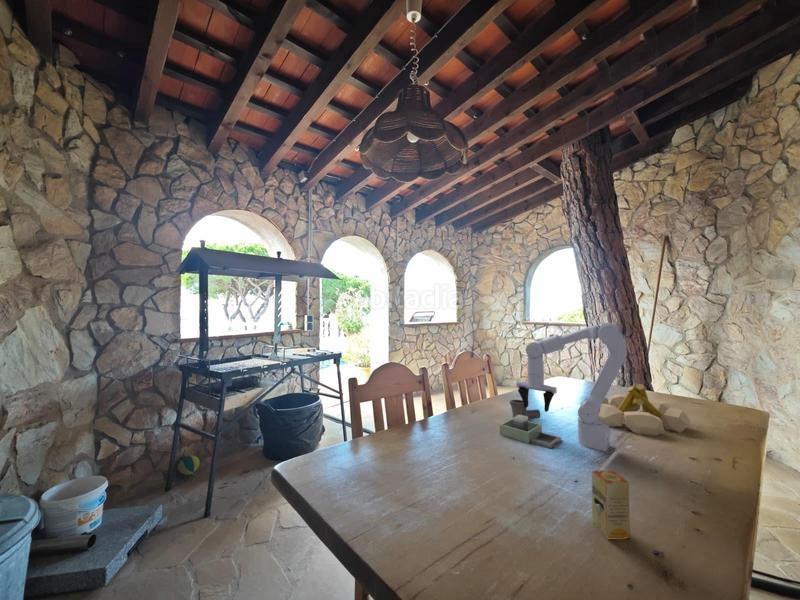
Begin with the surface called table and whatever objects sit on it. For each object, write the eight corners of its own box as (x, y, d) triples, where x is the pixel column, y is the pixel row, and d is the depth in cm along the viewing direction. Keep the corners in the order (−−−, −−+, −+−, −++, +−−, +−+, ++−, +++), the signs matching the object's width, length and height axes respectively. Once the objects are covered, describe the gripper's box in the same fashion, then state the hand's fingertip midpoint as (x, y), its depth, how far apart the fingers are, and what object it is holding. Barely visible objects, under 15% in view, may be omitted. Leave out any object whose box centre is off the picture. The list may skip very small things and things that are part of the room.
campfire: (640, 441, 120) (639, 394, 121) (569, 413, 153) (569, 376, 153) (708, 431, 130) (707, 388, 130) (628, 406, 162) (627, 371, 163)
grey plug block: (528, 434, 125) (528, 416, 125) (523, 439, 121) (522, 419, 121) (518, 432, 127) (518, 414, 127) (513, 436, 124) (513, 417, 124)
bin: (541, 436, 124) (541, 424, 125) (528, 445, 117) (528, 432, 117) (513, 429, 132) (513, 417, 133) (499, 436, 125) (499, 424, 125)
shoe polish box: (613, 523, 75) (612, 470, 75) (629, 539, 70) (628, 482, 70) (592, 524, 75) (591, 471, 75) (607, 539, 70) (606, 482, 70)
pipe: (542, 421, 141) (541, 403, 141) (511, 421, 141) (511, 402, 141) (536, 417, 147) (536, 399, 147) (507, 416, 147) (507, 398, 148)
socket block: (563, 443, 118) (563, 437, 118) (552, 452, 111) (552, 445, 111) (535, 435, 126) (535, 430, 126) (523, 443, 119) (523, 437, 119)
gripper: (559, 374, 124) (559, 410, 124) (521, 369, 134) (521, 403, 134) (552, 377, 119) (553, 415, 119) (513, 372, 129) (514, 407, 128)
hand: (536, 409), depth 126 cm, fingers open, 7 cm apart
